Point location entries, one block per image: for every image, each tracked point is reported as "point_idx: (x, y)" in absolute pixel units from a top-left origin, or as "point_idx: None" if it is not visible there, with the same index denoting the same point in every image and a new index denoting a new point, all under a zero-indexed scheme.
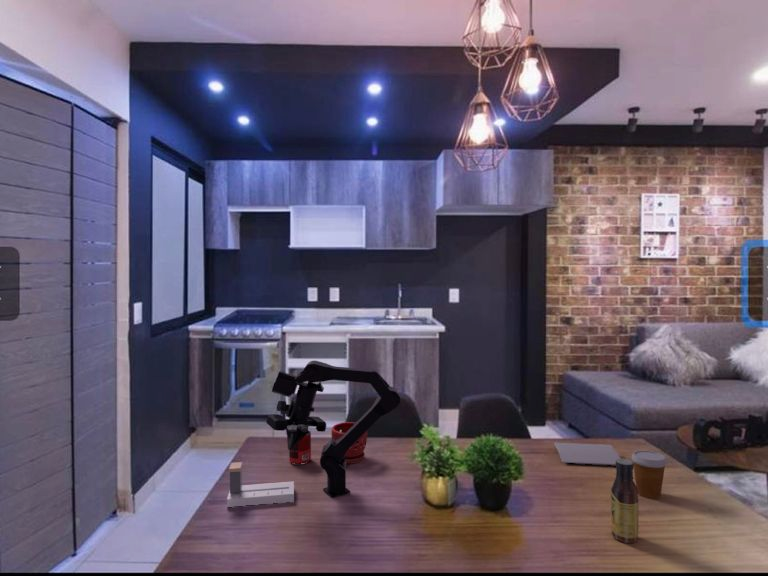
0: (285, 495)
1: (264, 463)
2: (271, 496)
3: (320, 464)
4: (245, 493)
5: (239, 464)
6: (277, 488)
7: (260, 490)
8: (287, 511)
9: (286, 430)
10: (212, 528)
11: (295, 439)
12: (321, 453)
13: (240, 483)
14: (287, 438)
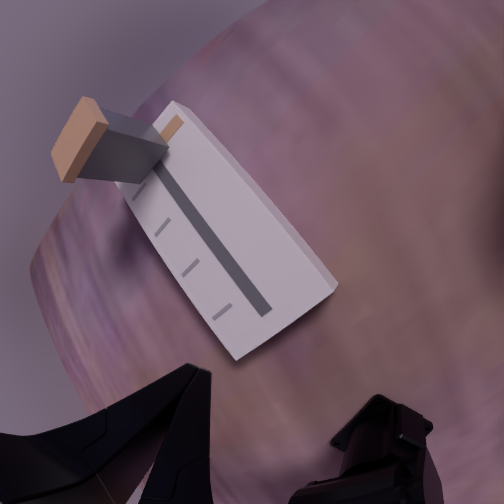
0: (217, 333)
1: (445, 5)
2: (186, 291)
3: (293, 494)
4: (155, 192)
5: (79, 140)
6: (236, 273)
7: (190, 223)
8: (196, 359)
9: (22, 443)
10: (78, 238)
11: (130, 491)
12: (373, 497)
13: (116, 181)
14: (109, 410)
